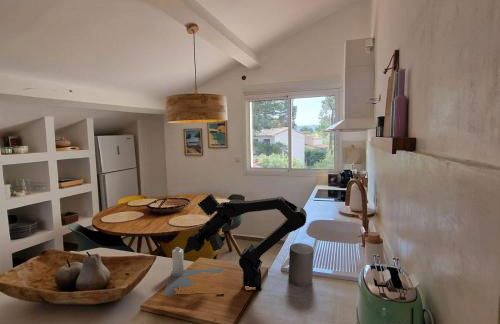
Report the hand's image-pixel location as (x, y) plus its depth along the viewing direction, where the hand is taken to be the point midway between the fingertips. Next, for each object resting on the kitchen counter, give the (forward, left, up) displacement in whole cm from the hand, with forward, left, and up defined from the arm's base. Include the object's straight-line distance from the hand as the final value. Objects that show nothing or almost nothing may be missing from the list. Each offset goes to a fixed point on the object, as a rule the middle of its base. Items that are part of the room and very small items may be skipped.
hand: (189, 247), depth 111 cm
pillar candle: (-45, +5, -13) cm, 47 cm away
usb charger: (+5, -2, -12) cm, 13 cm away
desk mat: (-3, +4, -13) cm, 14 cm away
